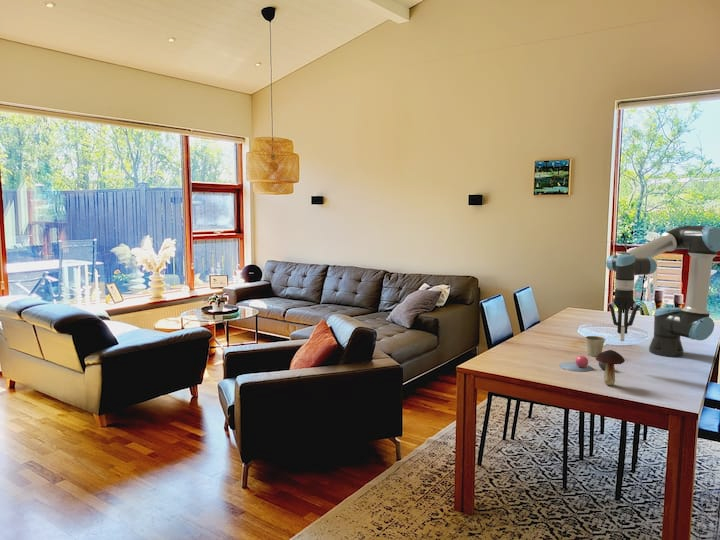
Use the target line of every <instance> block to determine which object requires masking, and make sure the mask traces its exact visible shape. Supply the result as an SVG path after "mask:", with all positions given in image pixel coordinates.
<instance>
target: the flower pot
mask: <svg viewBox="0 0 720 540" xmlns="http://www.w3.org/2000/svg"><path fill="white" fill-rule="evenodd" d="M584 340H585V342H586V349H587V351H586V352H587V355H589V356H591V357H597V355H598V354H600V353H602V352H603V346H604V343H605V341H606V338H604V337H602V336H595V335H588V336H587V335H586V336H584Z"/></svg>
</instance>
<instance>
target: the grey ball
mask: <svg viewBox="0 0 720 540" xmlns="http://www.w3.org/2000/svg"><path fill="white" fill-rule="evenodd" d="M598 367H599V368H601V369H602V370H604V371H605V367H606V363H602V362H599V361H598Z"/></svg>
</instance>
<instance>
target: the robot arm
mask: <svg viewBox="0 0 720 540" xmlns="http://www.w3.org/2000/svg"><path fill="white" fill-rule="evenodd" d="M675 250H688V251H687V254H688V255H689V256H690V263H689V264H690V265H689V273H688V281H687V289H686V297H685V298H686V299H685V305H684V307H682V308H681V307H659V308H656V309H655V312H654V320H653V321H654V323H653V324H654V325H653V338H652V339H651V342H650V344H649V347H648V351H649V353H650V354H654V355H658V356H664V357H676V358H677V357H681V356H684V350H685V349H684V346H683V344H682V341H681V337H682V338H687V339H690V340H696V341H703V340H706V339H708V338H709V337H710V336H711V335H712V333H713V332H714V329H715V321H714V320H713V318H711V317H710V314H711V313H710V312H709V310H708V309H707V308H708V307H707V305H708V298H709V290H710V283H711V281H710V280H711V276H712V275H711V274H712V269H713V267H712V266H713V260H714V258H716V257H717V256H718V252H720V228H719V227H717V226H713V225H687V224H686V225H681V226H678V227H675V228H672V229H669V230H668V231H665V232H663V233H661V234H660V235H659V237H656V238H655V239H652V240H650V241H648V242H646V243H644V244H641V245H639V246H637V247H634V248H633V249H631V250H629V251H626V252H624V253H621V254H618V255H617V254H612V255H609V256H608V257H607V258H606V260H605V261H606V262H605V265H606V268H607V269H608V270H609V271H613V272H615V279H614V280H615V283H614V288H615V289H614V298H613V300H612V302H610V303H609V302H608V303H607V306H608V308H609V310H610V313H611V319H612V323H613V325H615V326H617V331H616V332H617V334H619V341H620V342H625V337H626V336H625V335H626V334H628V327H631V326H633V323H634V321H635V318H636V314H637V312H638V310H639V309H640V305H639V304H637V303H635V300H634V293H635V292H634V289H635V276H642V275H643V276H647V275H652V274H654V273H655V272H656V271H657V268H658V267H657V266H658V263H657V261H656V260H655V259H654V258H655V257H657V256H659V255H661V254H663V253H666V252H673V251H675ZM615 307H616V308H617V318H616V312H615ZM631 307H632V311H631V313H630V315H629V311H630V309H631ZM623 311H624V312H623ZM623 314H624V315H623ZM629 316H630V317H629ZM622 317H623V318H622ZM622 320H623V323H622ZM622 324H623V325H622Z"/></svg>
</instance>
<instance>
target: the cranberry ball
mask: <svg viewBox="0 0 720 540" xmlns="http://www.w3.org/2000/svg"><path fill="white" fill-rule="evenodd" d="M574 362H576V365H577V366H578V367H581V368H584V367H586V366H587V365H589V359H588V358H587V357H586V356H585V355H579V356H577V357H576V359H575V360H574Z"/></svg>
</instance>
